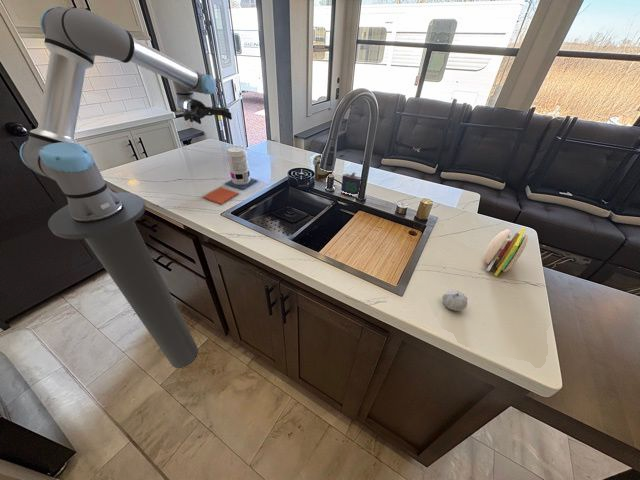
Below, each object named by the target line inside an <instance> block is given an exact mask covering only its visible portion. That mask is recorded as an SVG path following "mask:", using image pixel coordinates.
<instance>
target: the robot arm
mask: <svg viewBox="0 0 640 480" xmlns="http://www.w3.org/2000/svg"><path fill="white" fill-rule="evenodd" d="M40 27H41V31H42V32H43V34H44V42H43V45H44V46H45V48H46V49H47V50H48V52H49V57H48V63H47V70H46V76H45V82H44V88H43V93H42V100H41V107H40V111H39V116H38V117H39V118H38V123H37V124H38V125H37V128H34V129H31V130H29V135H28V140H26V141H24V142H23V143H22V144H21V146H20V148H19V156H20V159H21V161H22V162H23V164H24V165H25V166H26V167H27V168H28V169H30V170H31V171H33V172H34V173H36V174H38V175H41V176H43V177H46V178H49V179H51V180H53V181H55V182H56V183H57V185H58V186H59V188H60V190H61V192H63V194H64V195H65V197H66V199H67V205H69V211H70V215H71V216H72V218H73V219H74V220H75V221H77V222H81V223H91V222H98V221H102V220H105V219H108V218H111V217H113V216H115V215H116V214H118V213H119V212H121V211H122V209H123V207H124V205H123V203H122V201H121V200H120V199H119V198H118V197H117V196H116V195H115V194H114V193H115V192H114V191H113V190H111V189H110V188H109V186H108V185H107V183H106V181H105V179H104V177H103V174H102V173H101V172H100V170H99V168H98V166H97V164H96V161H95V159H94V157H93V155H92V154H91V153H90V151H89V150H88V148H87V147H86V146H84V145H83V144H80V143H78V142H77V141H76V140H75V134H76V129H77V128H76V127H77V122H78V117H79V111H80V107H81V100H82V94H83V90H84V84H85V79H86V73H87V70H88V69H91V68H92V69H93V68H94V65H95V58H96V57H97V56H98V57H104V58H109V59H113V60H117V61H119V62H122V63H124V64H128V63H132V64H134V65H136V66H138V67H141V68H142V69H145V70H147V71H150V72H152V73H154V74H156V75H159V76H161V77H163V78H166V79H168V80H170V81H172V84H173V88H174V92H175V95H176V98H175V104H176V106H177V108H178V109H179V110H180V111H182V112H183V114H182V115H183V119H184V121H189V122H190V123H194V122H195V123H197V124H199V125H202V121H201V119H204V118H205V117H209V116H210V117H212V116H223V117H224V118H226V119H228V120H231V121H232V120H233V118H232V116H233V115H232V112H230V109H229V108H226V107H220V106H214V105H212V106H206V105H205V103H204V102H202V101H200V100H198V99H196V98H195V95H194V93H199V94H203V95H213V94H214V93H215V91H216V88H217V84H216V81H215V79H214V77H212V76H211V75H209V74H206V73H201V72H199V71H197V70H195V69H194V68H191V67H190V66H188V65H186V64H184V63H181V62H180V61H178V60H176V59H174V58H172V57H171V56H169V55H167V54H165V53H164V52H161V51H159V50H158V49H156V48H154V47H152V46H150V45H148V44H146V43H145V42H142V41H141V40H138V39H136V38H135V37H134V36H133V34H132V33H131V32H130V31H129V30H127V29H125V28H123V27H121V26H119V25H118V24H116V23H114V22H112V21H110V20H109V19H107V18H106V17H103V16H101V15H99V14H98V13H95V12H93V11H91V10H88V9H85V8H80V7H62V6H54V7H50V8H47V9H46V10H44V11H43V12H42V14H41V16H40Z"/></svg>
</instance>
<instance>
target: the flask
mask: <svg viewBox="0 0 640 480" xmlns="http://www.w3.org/2000/svg"><path fill="white" fill-rule="evenodd" d="M356 174H357V173H356V172H352V173H351V174H350V173H344V174H343V175H342V180H341V188H340V195H343V196H345V197H350V198H353V197H352V195H349V194H345V193H342V192H341V190H342V191H344V192H347V193H351V194H358V192H359V188H360V181H361V177H362V176H357V175H356Z"/></svg>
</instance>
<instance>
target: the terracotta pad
mask: <svg viewBox="0 0 640 480" xmlns="http://www.w3.org/2000/svg"><path fill="white" fill-rule="evenodd" d="M238 195H239V193H238V192H235V191H234V190H233V191H232V190H229V189H226V188H223V187H218V188H217V189H215V190H213V191H211V192H209V193H207V194H205V195H204V196H202V199H204V200H207V201H210V202H214V203H216V204H219V205H223V204H225V203H226V202H227V201H229V200H231V199H233V198H234V197H236V196H238Z"/></svg>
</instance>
